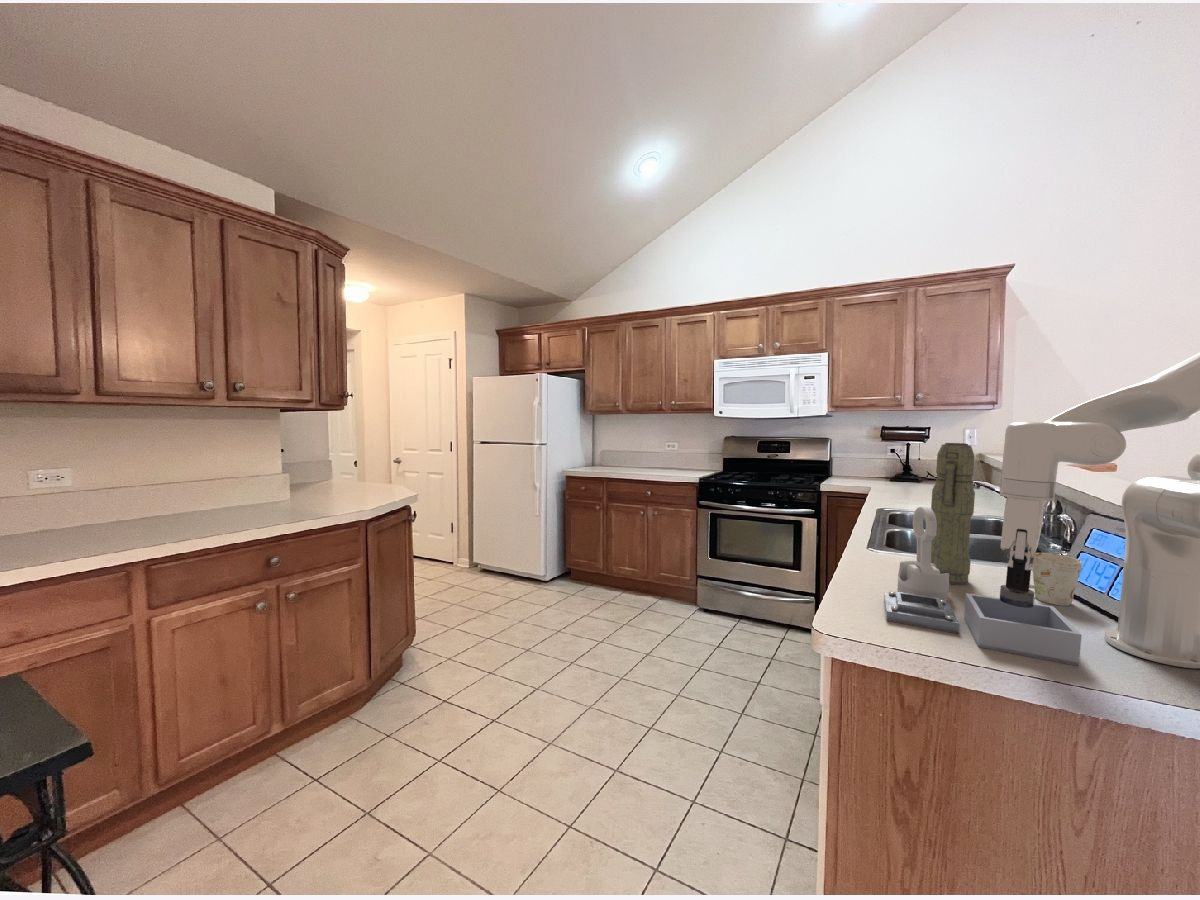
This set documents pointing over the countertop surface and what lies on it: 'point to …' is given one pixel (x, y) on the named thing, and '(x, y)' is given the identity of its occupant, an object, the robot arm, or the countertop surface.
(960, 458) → the green moai statue
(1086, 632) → the countertop surface
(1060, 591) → the mug
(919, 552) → the engine component
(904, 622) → the mount plate
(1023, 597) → the dark topped cylinder
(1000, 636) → the bin
